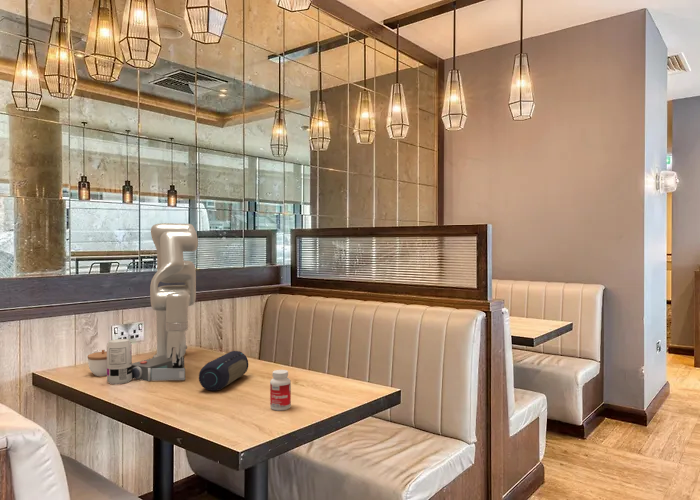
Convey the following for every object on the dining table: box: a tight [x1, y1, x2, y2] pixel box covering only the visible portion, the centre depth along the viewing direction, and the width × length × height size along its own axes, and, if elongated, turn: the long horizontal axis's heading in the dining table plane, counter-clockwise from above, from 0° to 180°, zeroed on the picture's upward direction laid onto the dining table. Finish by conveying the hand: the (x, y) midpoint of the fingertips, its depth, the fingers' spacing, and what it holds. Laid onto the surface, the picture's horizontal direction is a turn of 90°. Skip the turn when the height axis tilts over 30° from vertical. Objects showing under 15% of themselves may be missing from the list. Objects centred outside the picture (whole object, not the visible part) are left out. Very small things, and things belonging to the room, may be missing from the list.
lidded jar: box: [87, 349, 107, 377], centre depth 198 cm, size 11×11×9 cm
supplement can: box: [106, 338, 133, 385], centre depth 187 cm, size 8×8×15 cm
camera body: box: [131, 355, 185, 382], centre depth 197 cm, size 19×12×6 cm, turn 154°
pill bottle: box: [269, 369, 292, 411], centre depth 156 cm, size 6×6×11 cm
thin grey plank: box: [151, 367, 186, 381], centre depth 187 cm, size 12×1×4 cm, turn 90°
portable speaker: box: [198, 350, 249, 392], centre depth 184 cm, size 25×10×10 cm, turn 169°
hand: (177, 375), depth 190 cm, fingers closed
